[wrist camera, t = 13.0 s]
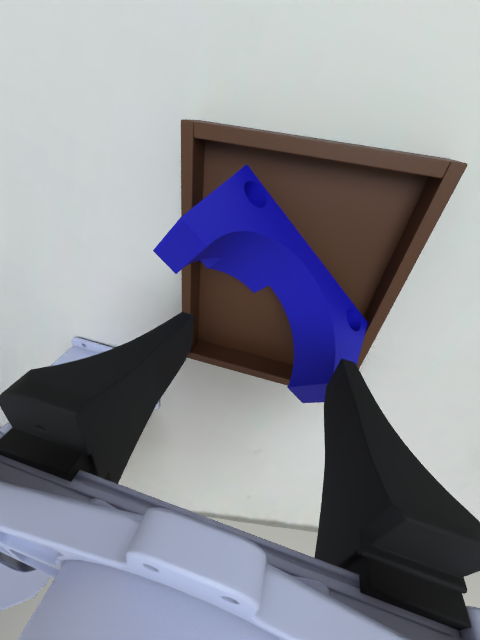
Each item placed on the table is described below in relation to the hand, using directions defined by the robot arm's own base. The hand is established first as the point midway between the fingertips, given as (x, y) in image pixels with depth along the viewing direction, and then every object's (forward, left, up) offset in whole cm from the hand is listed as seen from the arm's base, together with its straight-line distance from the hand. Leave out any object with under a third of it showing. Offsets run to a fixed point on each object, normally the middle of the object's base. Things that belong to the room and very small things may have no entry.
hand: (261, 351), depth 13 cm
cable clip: (0, +2, -7) cm, 7 cm away
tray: (0, 0, -8) cm, 8 cm away
